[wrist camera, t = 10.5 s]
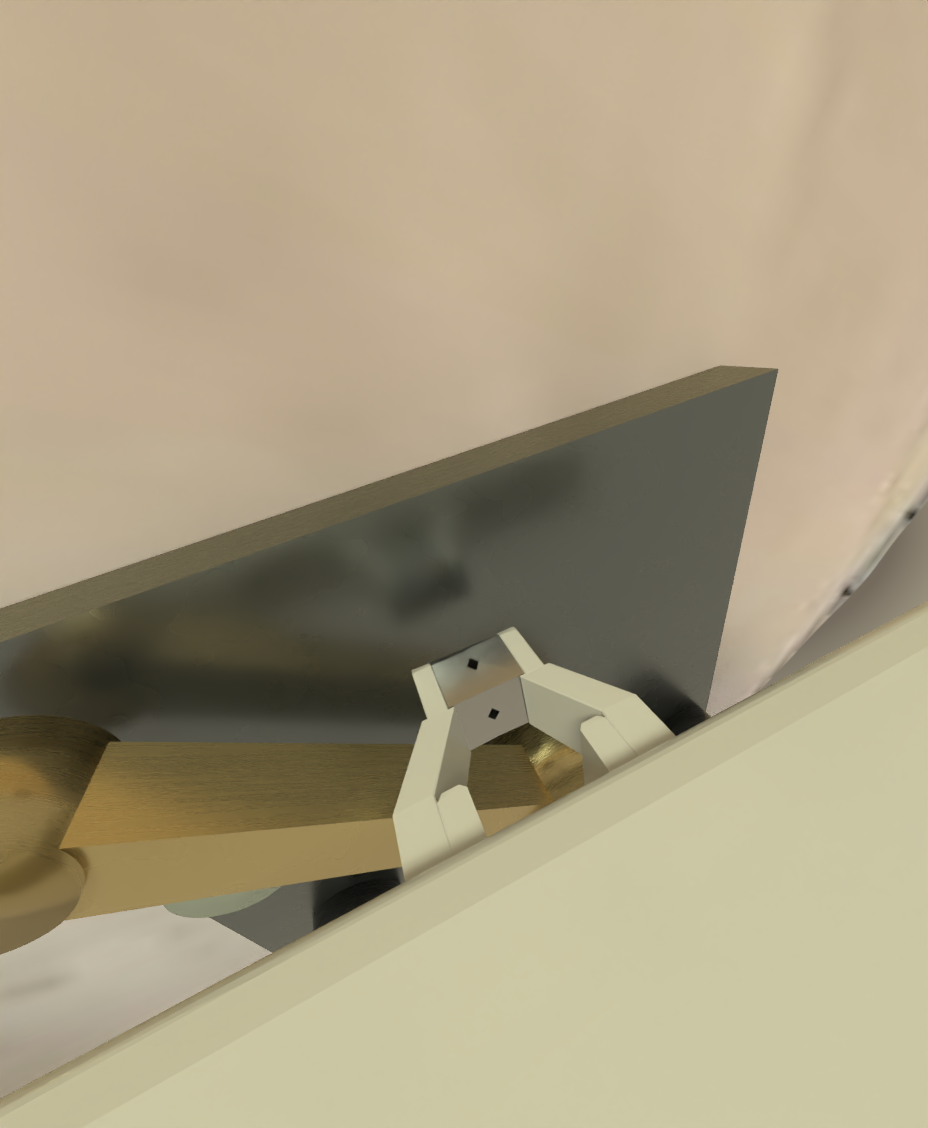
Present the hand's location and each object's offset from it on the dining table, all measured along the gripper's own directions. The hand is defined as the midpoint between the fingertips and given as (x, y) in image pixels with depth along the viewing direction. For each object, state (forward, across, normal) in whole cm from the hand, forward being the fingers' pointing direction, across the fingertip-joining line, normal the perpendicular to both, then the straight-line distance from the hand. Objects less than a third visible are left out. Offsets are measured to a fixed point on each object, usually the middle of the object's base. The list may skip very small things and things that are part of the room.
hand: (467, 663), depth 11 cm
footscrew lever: (+1, +3, +3) cm, 5 cm away
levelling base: (+4, 0, +6) cm, 7 cm away
